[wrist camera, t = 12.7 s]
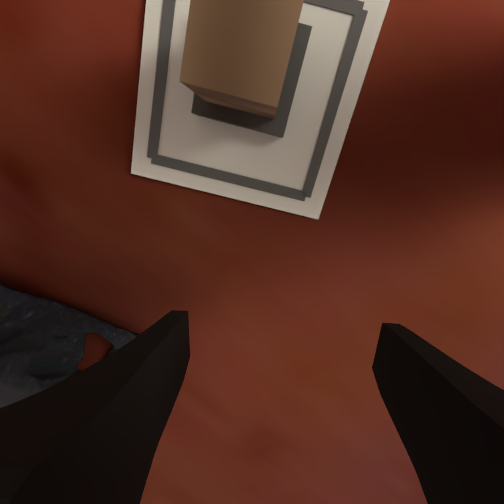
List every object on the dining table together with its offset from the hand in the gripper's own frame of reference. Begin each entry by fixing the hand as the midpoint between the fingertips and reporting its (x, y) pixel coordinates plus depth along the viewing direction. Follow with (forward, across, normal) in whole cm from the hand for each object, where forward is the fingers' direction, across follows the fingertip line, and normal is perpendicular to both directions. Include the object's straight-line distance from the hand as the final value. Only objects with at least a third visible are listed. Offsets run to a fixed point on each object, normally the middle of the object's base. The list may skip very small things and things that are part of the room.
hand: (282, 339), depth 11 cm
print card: (+9, +2, -10) cm, 14 cm away
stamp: (+9, +2, -10) cm, 14 cm away
